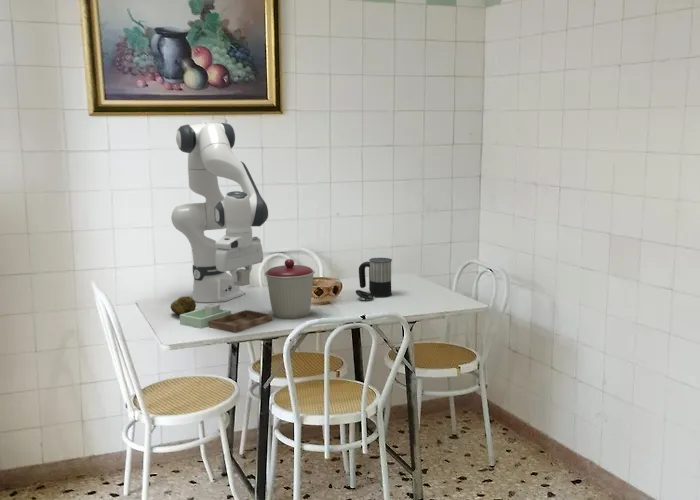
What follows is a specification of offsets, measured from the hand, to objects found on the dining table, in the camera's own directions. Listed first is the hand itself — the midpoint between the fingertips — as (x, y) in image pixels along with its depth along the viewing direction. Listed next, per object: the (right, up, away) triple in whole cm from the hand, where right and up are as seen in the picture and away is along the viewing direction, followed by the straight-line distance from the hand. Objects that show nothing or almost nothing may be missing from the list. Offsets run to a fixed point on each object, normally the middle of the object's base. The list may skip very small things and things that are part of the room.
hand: (241, 280), depth 251 cm
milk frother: (+47, -9, +43) cm, 64 cm away
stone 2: (0, -2, 0) cm, 2 cm away
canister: (+16, -14, +16) cm, 27 cm away
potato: (-24, -14, +20) cm, 35 cm away
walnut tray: (-1, -16, +5) cm, 17 cm away
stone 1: (-12, -15, +11) cm, 22 cm away
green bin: (-14, -16, +9) cm, 23 cm away
